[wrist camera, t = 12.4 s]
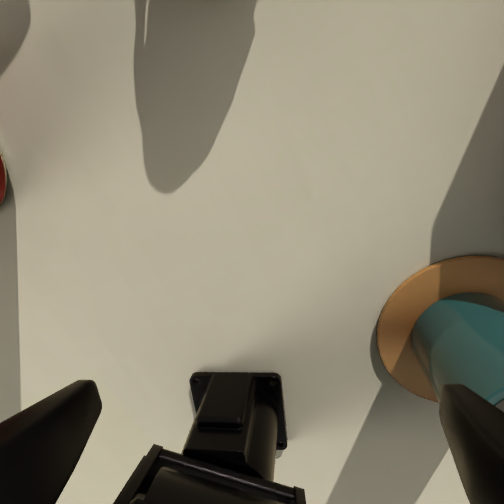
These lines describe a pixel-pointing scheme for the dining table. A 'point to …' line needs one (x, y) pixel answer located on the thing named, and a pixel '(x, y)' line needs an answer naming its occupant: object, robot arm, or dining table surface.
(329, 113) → the dining table surface
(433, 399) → the coaster
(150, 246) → the dining table surface
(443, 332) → the cup
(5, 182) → the soda can
